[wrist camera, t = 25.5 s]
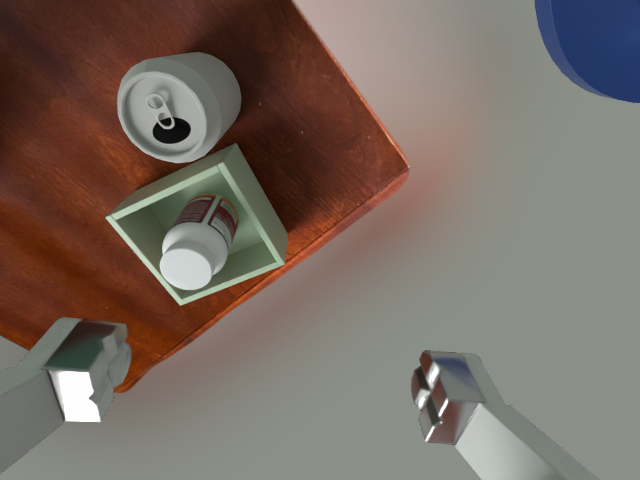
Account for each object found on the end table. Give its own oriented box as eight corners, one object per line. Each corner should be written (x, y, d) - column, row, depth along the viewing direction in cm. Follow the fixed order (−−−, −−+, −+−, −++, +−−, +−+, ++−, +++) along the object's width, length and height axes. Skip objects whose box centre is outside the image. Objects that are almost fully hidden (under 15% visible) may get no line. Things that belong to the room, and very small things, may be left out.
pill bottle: (181, 229, 42) (144, 286, 33) (191, 183, 39) (154, 231, 30) (233, 244, 43) (212, 303, 34) (246, 201, 40) (227, 252, 31)
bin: (236, 142, 38) (223, 161, 32) (288, 234, 44) (285, 264, 38) (133, 191, 40) (104, 217, 34) (195, 272, 46) (180, 305, 40)
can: (186, 140, 37) (139, 180, 27) (152, 63, 34) (83, 76, 23) (253, 121, 37) (232, 156, 26) (226, 41, 33) (189, 45, 23)
